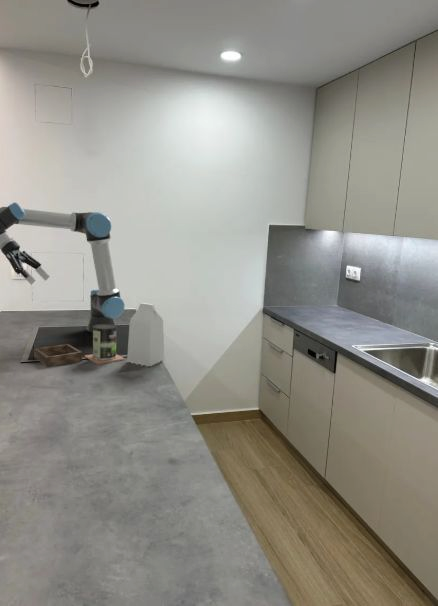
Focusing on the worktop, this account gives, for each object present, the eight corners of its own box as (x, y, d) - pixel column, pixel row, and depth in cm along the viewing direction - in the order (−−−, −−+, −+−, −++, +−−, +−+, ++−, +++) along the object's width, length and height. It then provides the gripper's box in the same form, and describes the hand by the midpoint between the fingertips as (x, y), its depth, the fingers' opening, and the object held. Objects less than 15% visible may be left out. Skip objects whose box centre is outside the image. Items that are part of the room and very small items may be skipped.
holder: (68, 352, 212) (68, 343, 212) (82, 361, 201) (82, 352, 200) (34, 357, 203) (34, 348, 202) (46, 366, 191) (46, 357, 190)
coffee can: (120, 354, 210) (120, 324, 208) (110, 361, 200) (110, 329, 198) (99, 352, 212) (99, 322, 210) (88, 358, 202) (88, 327, 200)
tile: (110, 352, 215) (110, 351, 215) (124, 359, 206) (124, 358, 205) (84, 356, 207) (84, 355, 207) (97, 364, 197) (97, 363, 197)
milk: (164, 360, 208) (165, 303, 203) (150, 366, 198) (151, 307, 193) (141, 355, 213) (142, 300, 208) (126, 362, 202) (127, 304, 198)
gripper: (16, 249, 219) (47, 282, 220) (-15, 252, 194) (21, 290, 196) (26, 238, 217) (58, 272, 219) (-3, 240, 193) (33, 278, 194)
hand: (40, 280), depth 207 cm, fingers open, 13 cm apart
